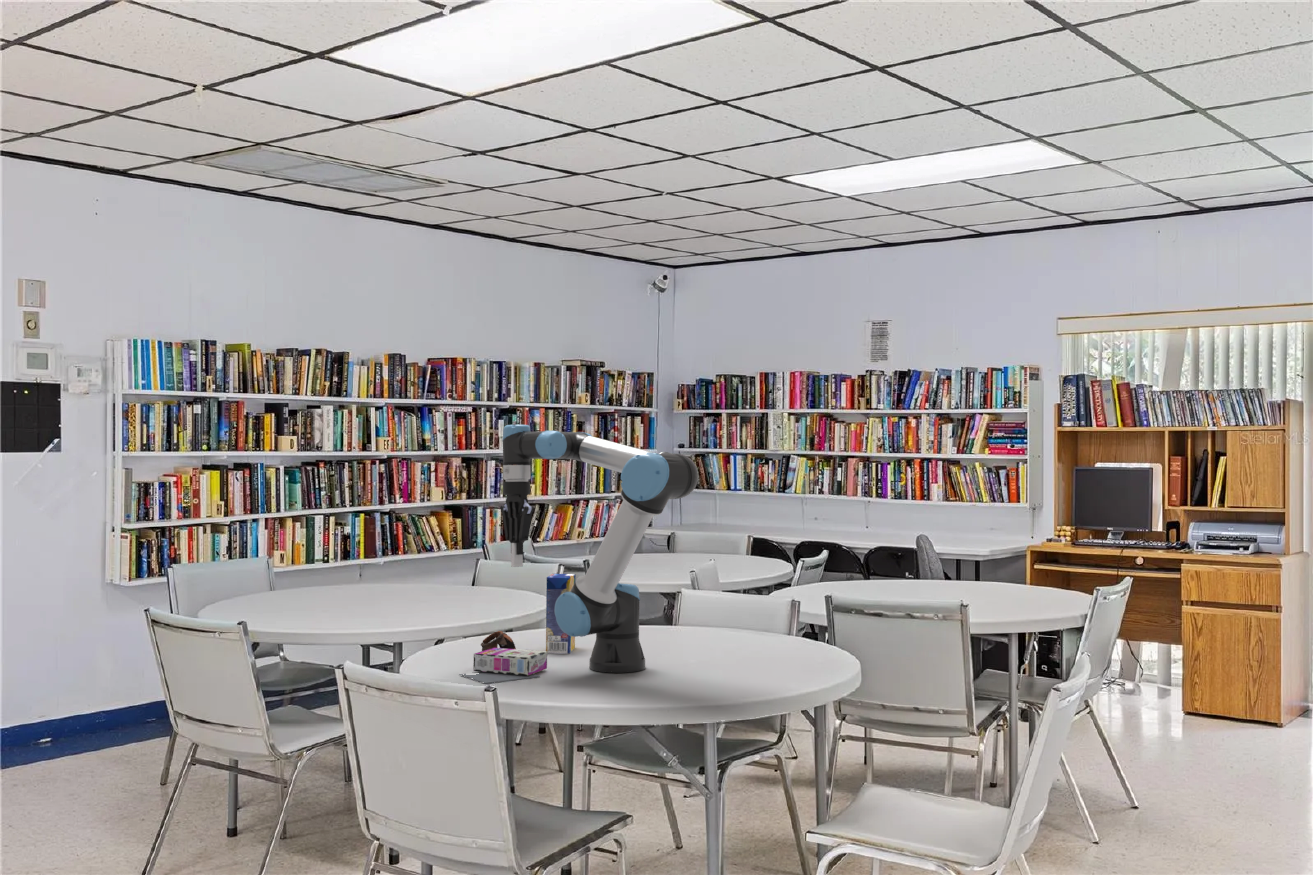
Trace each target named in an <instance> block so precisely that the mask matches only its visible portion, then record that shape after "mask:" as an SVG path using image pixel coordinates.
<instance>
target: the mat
mask: <svg viewBox="0 0 1313 875" xmlns="http://www.w3.org/2000/svg"><path fill="white" fill-rule="evenodd" d="M473 673H479V674H476V675H466V673H459V674H458V676H459V675H462V676H465V677H467V678H466V679H468V678H473V679H474V680H477V681H478V682H477V681H476V682H477V683H480V682H484V683H483V685H489V684H496V683H505V682H511V681H512V682H513V681H521V680H527V679H528V680H529V679H535V678H536V679H537V678H541V675H539V674H536V673H534V674H531V675H529V676H525V675H514V674H503V673H491V672H478V671H473ZM463 674H464V675H463ZM462 676H461V677H462ZM465 677H464V678H465ZM474 680H473V681H474ZM494 682H495V683H494Z"/></svg>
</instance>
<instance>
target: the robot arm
mask: <svg viewBox="0 0 1313 875" xmlns="http://www.w3.org/2000/svg"><path fill="white" fill-rule="evenodd" d="M501 441H502V467H503V468H502V479H503V480H505V481H503V483H502V494H503V496H506V499H505V504H503V505H500V506H499V508H500V511H501V515H502V522H503V530H504V535H505V536H504V537H505V540H506V541H509V543H510V556H511V558H510V559H511V561H510V562H511V563H510V564H511V567H512V568H519V567H523V565H524V564H523V562H524V561H523V560H524V559H523V558H524V555H523V554H524V543H525V542H526V541H527V542H528V541H529V536H530V529H531V524H532V515H533V513H534V509H535V507H534V506H533V505H532V506H531V505H530V504H529V500H528V496H530V495H531V482H530V481H529V480H531V479H532V478H531V474H532V473H531V472H532V471H531V460H532V459H533V460H535V459H536V460H574V461H578V462H583V463H585V464H589V465H593V466H597V467H600V468H603V469H607V470H609V471H610V470H611V471H614V472H617V473H620V480H621V482H620V485H621V486H620V487H621V491H620V496H621V498H622V502H621V503H620V506H619V508H618V509H617V512H616V514H615V515H614V518H613V519H612V521H611V523H610V525H609V528H608V529H607V531H606V534H605V535H604V537H603V540H602V542H601V544H600V545H599V546H598V549H597V551H596V554H595V555H594V556H593V560H592V561H591V563H590V565H589V567H588V568H587V571H586V572H585V575H579V576H578V577H577V578H575V583H574V585H573V587H572V589H571V591H570V592H565V593H563V594H561V595H560V596H559V597H558V599H557V600H556V603H555V616H556V621H557V623H558V625H559V627H560V628H561V630H562V631H563V632H564V633H566V634H567V635H569V636H573V637H575V638H576V637H581V638H583V637H587V636H591V635H595V636H596V637H595V642H594V645H593V648H592V652H591V655H590V658H589V664H588V665H589V669H590V670H591V671H592V670H593V671H596V672H601V673H609V674H610V673H612V674H613V673H615V674H617V673H620V674H623V673H624V674H625V673H633V672H639V671H643V670H646V658H645V655H644V651H643V648H642V645H641V642H640V601H641V598H640V589H639V587H638V585H635V584H631V583H630V584H629V583H620V580H621V579H622V576H624V573H625V571H626V569H627V567H628V565H629V564H630V561H631V560H632V558H633V555H634V554H635V551H636V550H637V548H638V547H639V545H640V542H641V540H642V539H643V537H644V535H645V532H646V531H647V529H648V527H649V525H650V523H651V522H652V519H653V517H656V516H659V515H662V513H663V512H664V510H665V507H666V505H667V503H668V502H669V500H677V499H682V498H685V497H688V496H689V495H690V494H691V493H692V492H693V491H694V489H696V487H697V484H698V480H699V471H698V467H697V466H696V464H695V462H694V461H693V460H692V459H691V457H690V458H689V457H688V456H687V455H684V454H681V453H672V452H668V451H662V452H660V453H656V452H653V451H650V450H649V451H648V450H646V449H645V450H644V449H641V448H638V447H634V446H629V445H626V444H623V443H619V442H615V441H611V440H607V439H604V438H600V437H595V436H593V435H592V434H590V433H587V432H585V431H584V432H583V431H576V432H575V431H558V430H548V429H547V430H541V431H540V430H539V431H531V426H530V425H529V424H507V425H505V426H504V427H503V430H502V440H501Z"/></svg>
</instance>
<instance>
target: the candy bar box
mask: <svg viewBox="0 0 1313 875" xmlns="http://www.w3.org/2000/svg"><path fill="white" fill-rule="evenodd" d="M472 667H473V672H491V673H503V674H514V675H525V676H529V675H531V674H536V673H539V672H542V671H544V670H547V668H548V653H547V651H546V650H545V651H544V650H542V651H541V650H531V649H517V648H516V649H505V648H500V647H497V648H492V649H488V650H485V651H482V650H481V651H479V652H475V653H473V666H472Z"/></svg>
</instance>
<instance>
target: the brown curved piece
mask: <svg viewBox="0 0 1313 875" xmlns="http://www.w3.org/2000/svg"><path fill="white" fill-rule="evenodd" d="M480 646H481V651H485V650H488V649H492V648H505V649H517V647H516V644H515V642H514V640H513V638H512V637H510V635H508V634H507V633H505V632H503V631H502V630H498V631H496V632H493V633H490V634H489V635H488V636H487V637H485V638H484V639H483V640H482V642H481V643H480ZM498 646H499V647H498Z"/></svg>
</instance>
